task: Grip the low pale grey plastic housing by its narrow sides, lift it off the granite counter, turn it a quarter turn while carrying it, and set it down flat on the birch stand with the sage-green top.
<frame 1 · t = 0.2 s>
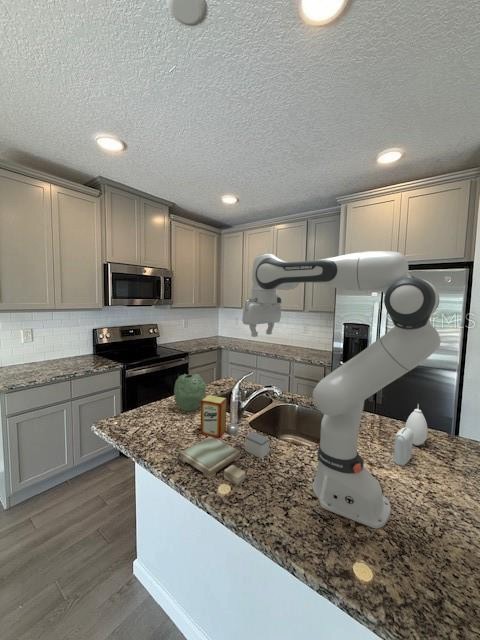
hand: (261, 335, 102), 47 cm above the worktop, tool pointing down, fingers open, 8 cm apart
stand: (210, 459, 102), on the worktop
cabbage: (189, 410, 145), on the worktop
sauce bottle: (414, 444, 117), on the worktop
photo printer: (402, 460, 105), on the worktop
baking soda box: (213, 433, 122), on the worktop
beech block: (234, 479, 91), on the worktop
housing: (256, 452, 108), on the worktop
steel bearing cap: (232, 432, 123), on the worktop
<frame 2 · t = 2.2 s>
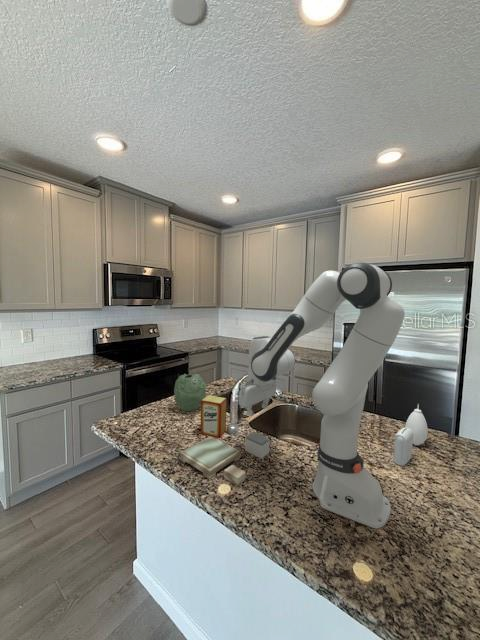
hand: (257, 411, 107), 16 cm above the worktop, tool pointing down, fingers open, 8 cm apart
nothing on the worktop moved.
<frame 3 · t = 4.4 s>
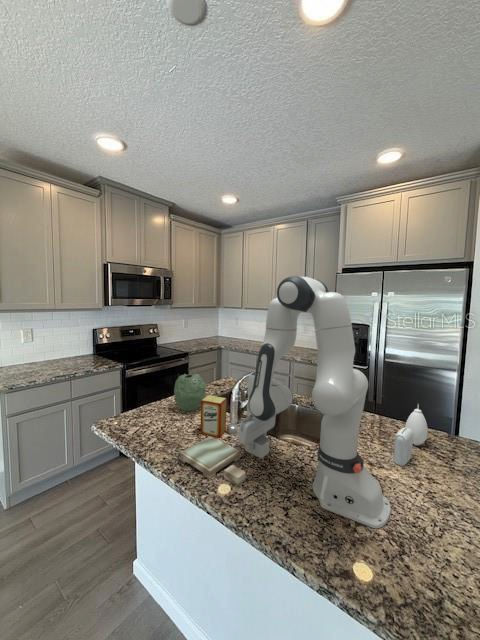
hand: (256, 445, 108), 3 cm above the worktop, tool pointing down, fingers closed on housing, 5 cm apart
housing: (256, 451, 108), on the worktop, touching gripper
everything else where it was.
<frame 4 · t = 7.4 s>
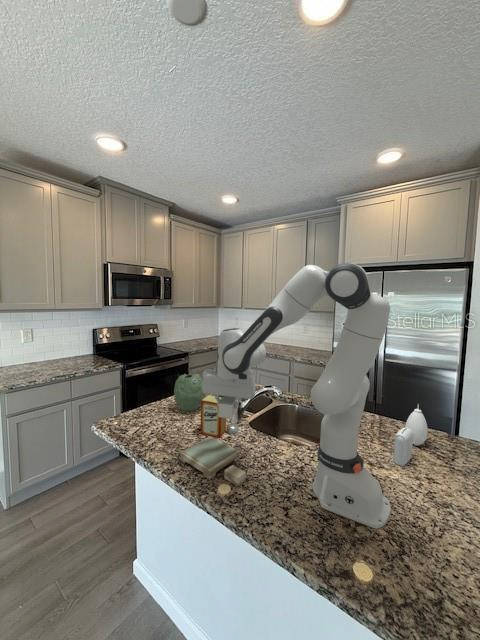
hand: (227, 406, 102), 20 cm above the worktop, tool pointing down, fingers closed on housing, 5 cm apart
housing: (227, 413, 103), point 17 cm above the worktop, touching gripper
everything else where it was.
when the fingers open (7 cm above the worktop, at t = 10.8 s): housing drops 1 cm, resting on stand.
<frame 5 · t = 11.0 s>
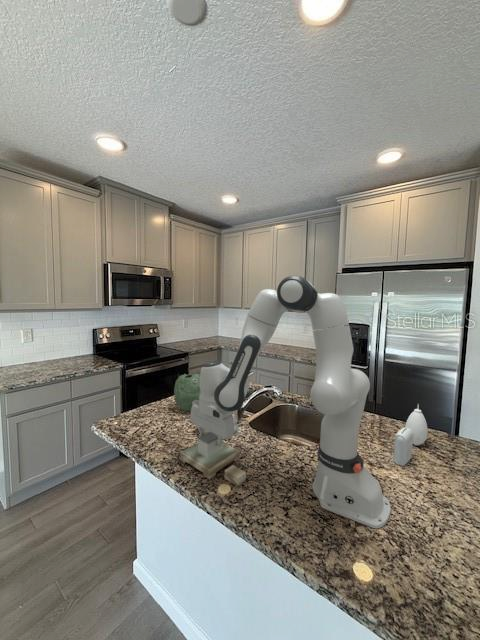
hand: (210, 441, 101), 7 cm above the worktop, tool pointing down, fingers open, 7 cm apart
housing: (210, 450, 102), point 3 cm above the worktop, touching stand
everything else where it was.
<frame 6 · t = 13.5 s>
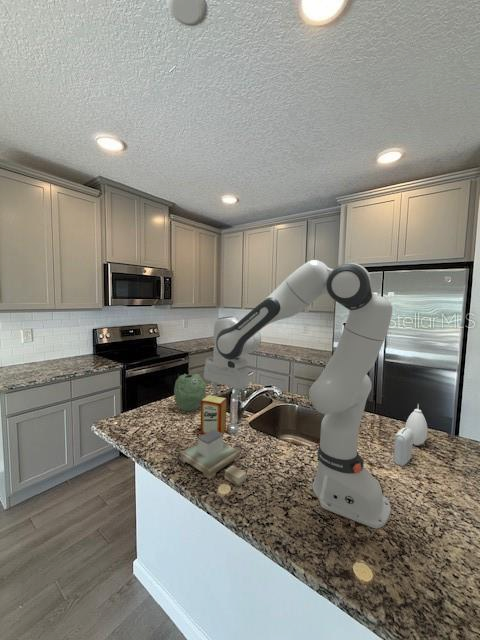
hand: (225, 395, 103), 24 cm above the worktop, tool pointing down, fingers open, 8 cm apart
nothing on the worktop moved.
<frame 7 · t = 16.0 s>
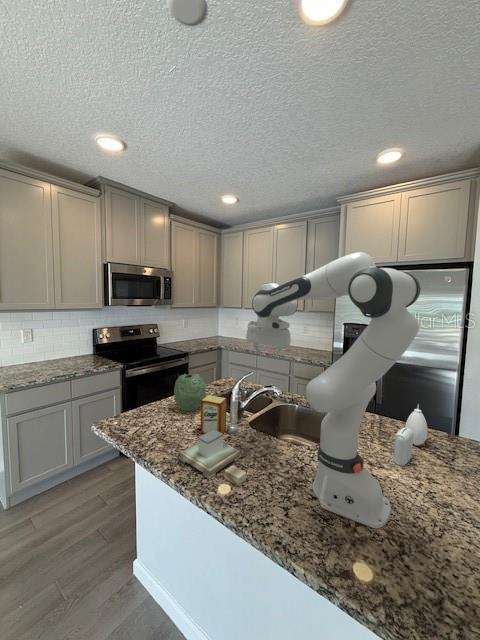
hand: (266, 355, 113), 37 cm above the worktop, tool pointing down, fingers open, 8 cm apart
nothing on the worktop moved.
at the end: housing inside the target area on the stand (0.1 cm from its centre), point 3.3 cm above the stand's base; housing tilted 0°; the gripper is holding nothing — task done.
